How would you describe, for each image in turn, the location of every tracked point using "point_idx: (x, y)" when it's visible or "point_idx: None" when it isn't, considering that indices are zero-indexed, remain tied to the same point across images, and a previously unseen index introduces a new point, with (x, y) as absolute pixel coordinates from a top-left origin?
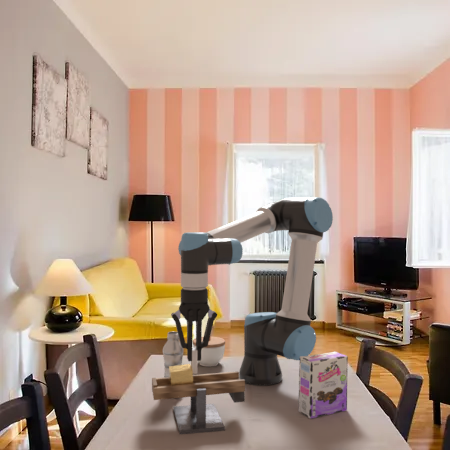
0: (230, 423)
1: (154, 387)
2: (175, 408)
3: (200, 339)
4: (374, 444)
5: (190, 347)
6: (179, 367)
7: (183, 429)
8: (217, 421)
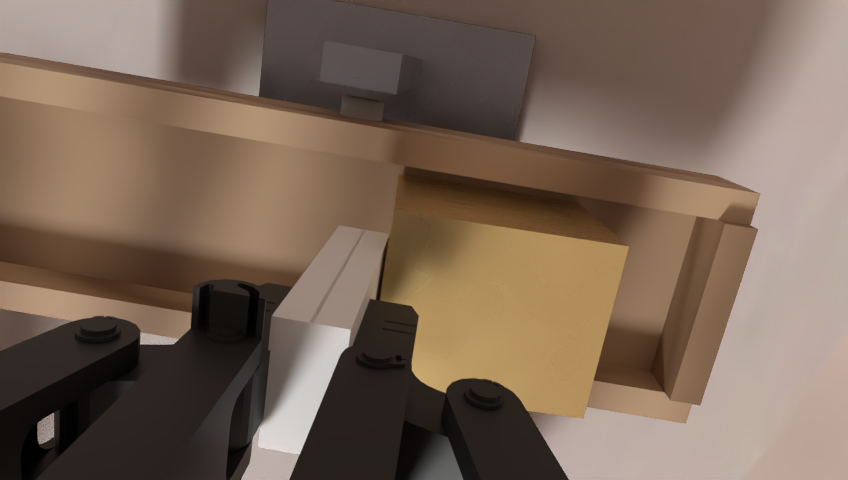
0: (216, 71)
1: (743, 217)
2: None
3: (142, 400)
4: None
5: (373, 357)
6: (498, 337)
7: (511, 39)
8: (288, 76)
